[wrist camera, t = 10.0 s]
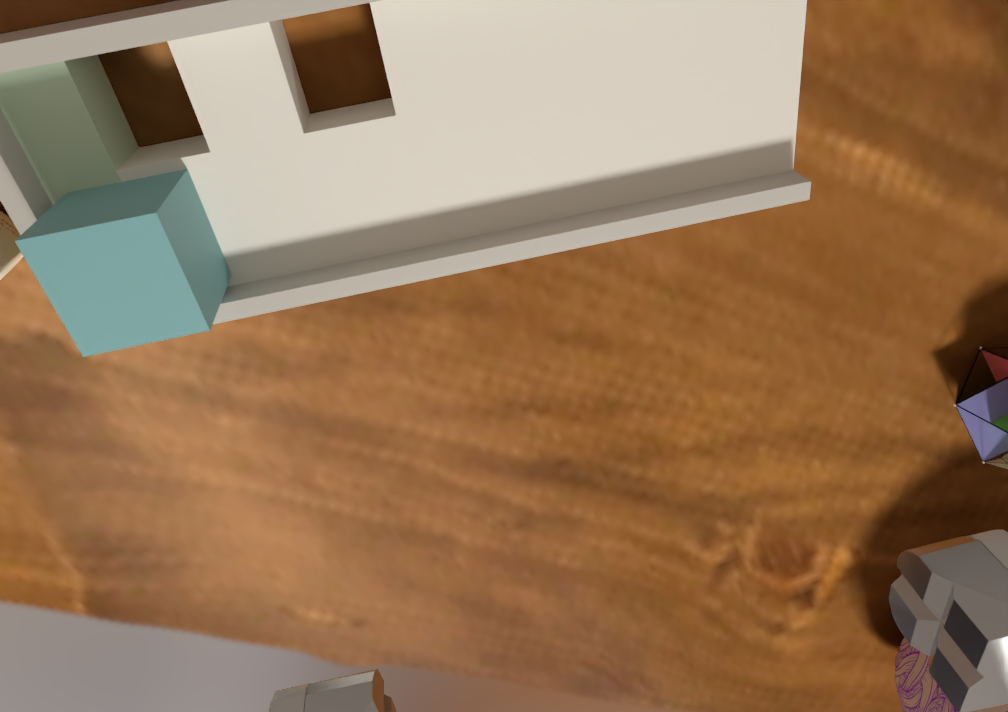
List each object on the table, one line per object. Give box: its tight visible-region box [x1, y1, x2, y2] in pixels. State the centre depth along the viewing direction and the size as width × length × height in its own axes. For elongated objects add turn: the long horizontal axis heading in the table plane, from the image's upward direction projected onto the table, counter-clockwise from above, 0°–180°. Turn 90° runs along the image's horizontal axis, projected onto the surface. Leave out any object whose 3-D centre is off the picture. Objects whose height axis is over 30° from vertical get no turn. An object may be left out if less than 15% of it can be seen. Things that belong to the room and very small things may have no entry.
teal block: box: [15, 169, 232, 357], centre depth 25 cm, size 4×4×4 cm
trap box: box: [0, 0, 811, 324], centre depth 27 cm, size 30×11×4 cm, turn 99°
